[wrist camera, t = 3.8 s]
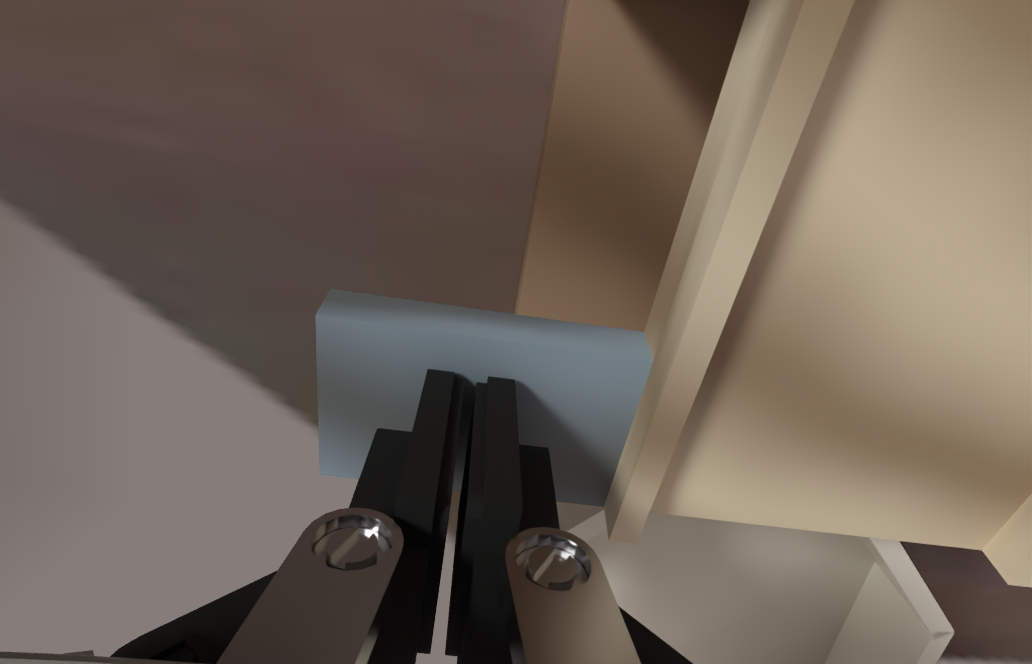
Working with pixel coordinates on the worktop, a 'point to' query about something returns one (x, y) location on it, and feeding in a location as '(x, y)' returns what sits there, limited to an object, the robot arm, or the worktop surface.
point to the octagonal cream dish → (767, 591)
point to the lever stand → (621, 153)
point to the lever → (784, 304)
